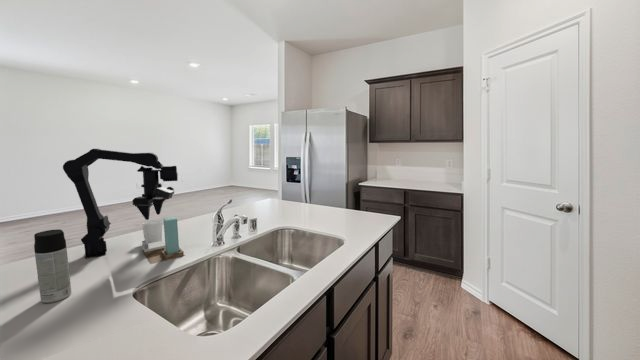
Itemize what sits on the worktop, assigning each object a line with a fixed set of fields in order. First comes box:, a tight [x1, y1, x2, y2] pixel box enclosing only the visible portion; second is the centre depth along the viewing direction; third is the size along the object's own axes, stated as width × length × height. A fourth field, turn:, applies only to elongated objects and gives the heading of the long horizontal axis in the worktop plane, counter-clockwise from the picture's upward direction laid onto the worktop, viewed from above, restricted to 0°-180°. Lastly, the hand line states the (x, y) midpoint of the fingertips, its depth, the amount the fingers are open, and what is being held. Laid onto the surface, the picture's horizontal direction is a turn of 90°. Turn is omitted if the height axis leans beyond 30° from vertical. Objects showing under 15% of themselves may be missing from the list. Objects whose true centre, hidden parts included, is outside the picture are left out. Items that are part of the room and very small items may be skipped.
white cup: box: [141, 219, 163, 243], centre depth 127 cm, size 8×8×10 cm
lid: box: [141, 239, 165, 252], centre depth 114 cm, size 7×7×3 cm
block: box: [162, 216, 180, 255], centre depth 110 cm, size 4×4×15 cm
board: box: [141, 247, 186, 265], centre depth 113 cm, size 12×18×2 cm, turn 41°
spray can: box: [33, 228, 72, 304], centre depth 80 cm, size 7×7×20 cm
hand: (153, 217), depth 121 cm, fingers open, 9 cm apart
